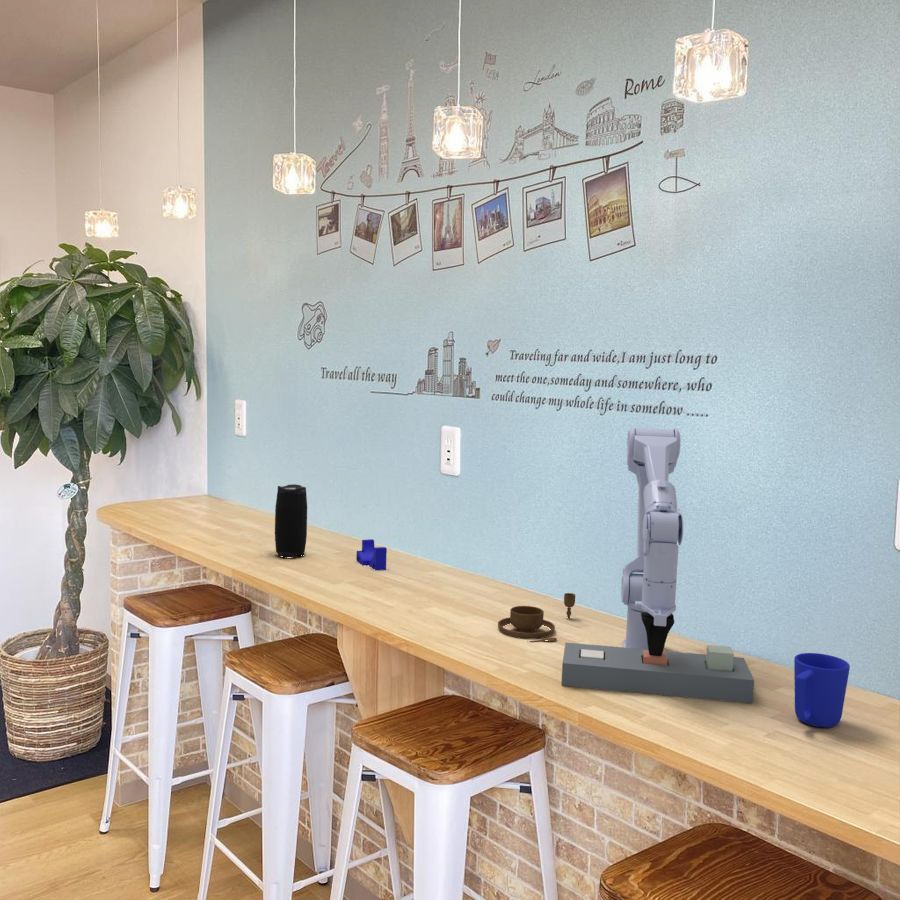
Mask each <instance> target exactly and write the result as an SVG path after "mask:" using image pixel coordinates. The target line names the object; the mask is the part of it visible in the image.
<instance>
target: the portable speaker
mask: <svg viewBox="0 0 900 900" xmlns="http://www.w3.org/2000/svg"><path fill="white" fill-rule="evenodd" d="M306 488H307V487H306V486H302V485H300V484H294V483H293V484H287V485H284V486H281V485H278V486H277V492H276V501H275V510H274V512H275V513H274V541H275V543H274V544H275V552H276V554H277V555H278V557H279V556H283V557H293V558H294V557H295V556H301V555H302V556H301V557H304V556H305V555H306V554H305V551H306V544H307V538H308V537H307V535H308V500H307V499H308V498H307V497H308V496H307V489H306ZM303 555H304V556H303Z"/></svg>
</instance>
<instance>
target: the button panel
mask: <svg viewBox="0 0 900 900" xmlns="http://www.w3.org/2000/svg"><path fill="white" fill-rule="evenodd" d="M581 649H584V650H595V651H604V657H603V660H599V659H587V658H581ZM643 650H648V649H636V648H624V647H623V646H622V647H621V646H611V645H598V644H589V643H587V644H586V643H576V642H565V643H564V650H563V658H562V667H561V668H562V669H561V686H565V687H575V688H584V689H585V688H586V689H595V690H606V691H615V692H616V691H619V692H629V693H637V694H648V695H649V694H650V695H661V696H670V697H682V698H693V699H703V700H711V701H721V702H722V701H725V702H734V703H746V704H753V703H754V690H755V679H754V677H753V675H752V673H751V670H750V668H749V665H748V664H747V662H746V660H745V658H744V657H742V656H741V657H739V656H738V657H737V656H734V657H733V671H723V670H712V669H707V668H706V655H707V653H706V654H704V653H692V652H681V651H680V652H679V651H668V650H665V651H663V652H666V654H667V659H668V661H667V666H666V665H655V664H644V663H643Z"/></svg>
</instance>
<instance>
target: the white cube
mask: <svg viewBox="0 0 900 900" xmlns="http://www.w3.org/2000/svg"><path fill="white" fill-rule="evenodd" d="M603 657H604V651H595V650H584V649H581V658H587V659H599V660H603Z"/></svg>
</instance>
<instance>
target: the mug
mask: <svg viewBox="0 0 900 900" xmlns="http://www.w3.org/2000/svg"><path fill="white" fill-rule="evenodd" d="M793 659H794V660H793V662H794V666H793V667H794V668H793V669H794V671H793V672H794V673H793V676H794V677H793V678H794V679H793V680H794V713H795V717H796V718H797V719H798V720H799V721H801V722H802V723H805V724H807V725H810V726H813V727H817V728H832V727H836V726H837V725H838V724H839V723H840V722H841V719H842V715H843V709H844V704H845V700H846V699H845V697H846V692H847V686H848V681H849V675H850V668H851V665H850V663H849V662H847V661H846V660H845V659H842V658H840V657H838V656H835V655H834V656H833V655H829V654H825V653H817V652H816V653H815V652H805V653H804V652H803V653H799V654H796V655H795V656H794V658H793Z"/></svg>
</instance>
